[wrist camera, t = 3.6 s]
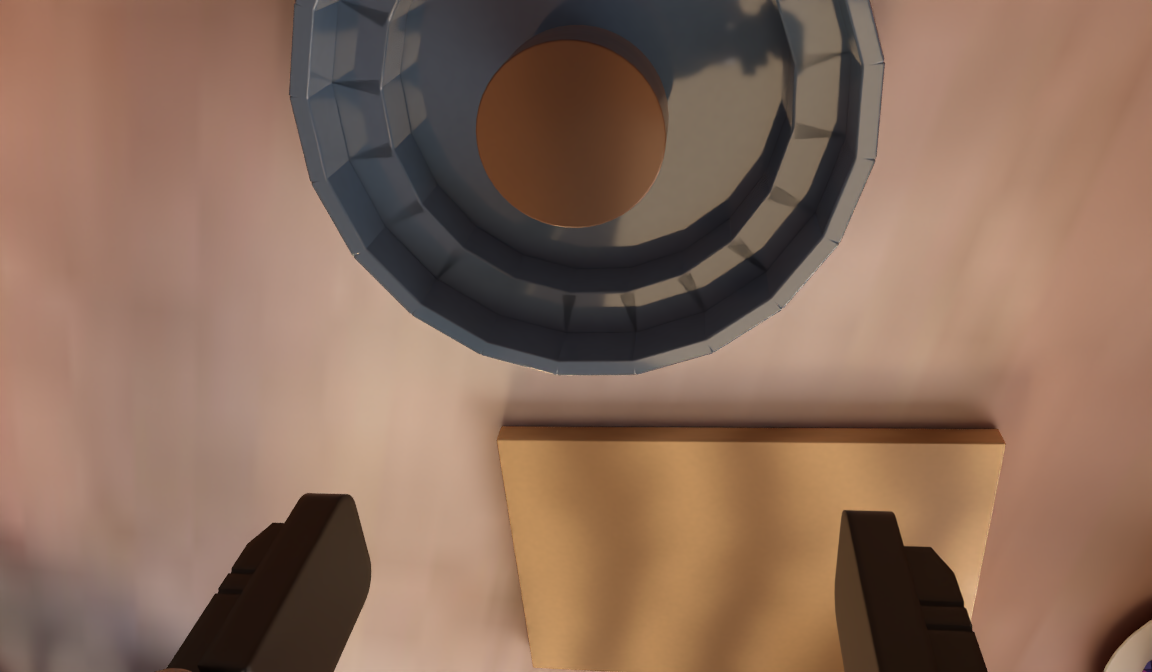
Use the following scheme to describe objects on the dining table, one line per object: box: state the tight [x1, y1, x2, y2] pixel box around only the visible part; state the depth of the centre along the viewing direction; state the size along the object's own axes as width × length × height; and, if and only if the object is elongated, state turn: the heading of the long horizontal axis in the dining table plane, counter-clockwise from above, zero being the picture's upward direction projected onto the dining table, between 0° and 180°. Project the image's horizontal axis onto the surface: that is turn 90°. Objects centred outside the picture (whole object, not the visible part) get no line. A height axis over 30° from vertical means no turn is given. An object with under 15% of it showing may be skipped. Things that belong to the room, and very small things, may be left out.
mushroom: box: [476, 25, 669, 228], centre depth 26 cm, size 5×5×5 cm
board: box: [497, 426, 1006, 672], centre depth 38 cm, size 20×14×1 cm
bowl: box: [289, 0, 885, 375], centre depth 27 cm, size 17×17×5 cm
